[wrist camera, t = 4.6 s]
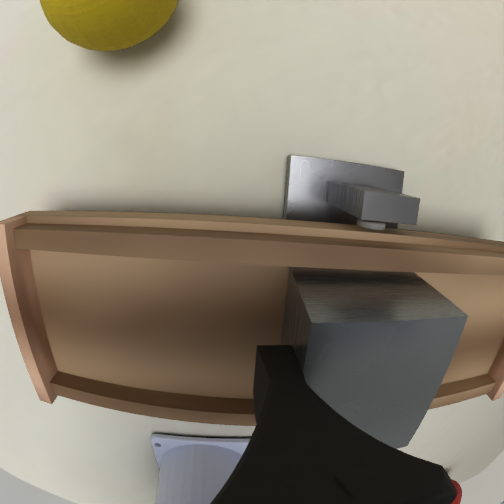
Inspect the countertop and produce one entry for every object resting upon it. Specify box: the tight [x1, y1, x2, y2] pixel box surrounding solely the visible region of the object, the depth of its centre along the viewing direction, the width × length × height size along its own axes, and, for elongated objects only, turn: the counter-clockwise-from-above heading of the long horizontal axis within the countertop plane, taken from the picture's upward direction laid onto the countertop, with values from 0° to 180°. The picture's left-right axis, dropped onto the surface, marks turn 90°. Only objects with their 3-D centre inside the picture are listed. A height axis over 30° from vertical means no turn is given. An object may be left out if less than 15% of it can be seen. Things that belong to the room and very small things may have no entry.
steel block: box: [281, 267, 468, 449], centre depth 10 cm, size 6×5×4 cm
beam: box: [0, 211, 504, 426], centre depth 12 cm, size 9×26×3 cm, turn 86°
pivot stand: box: [283, 155, 420, 229], centre depth 14 cm, size 14×6×5 cm, turn 176°
